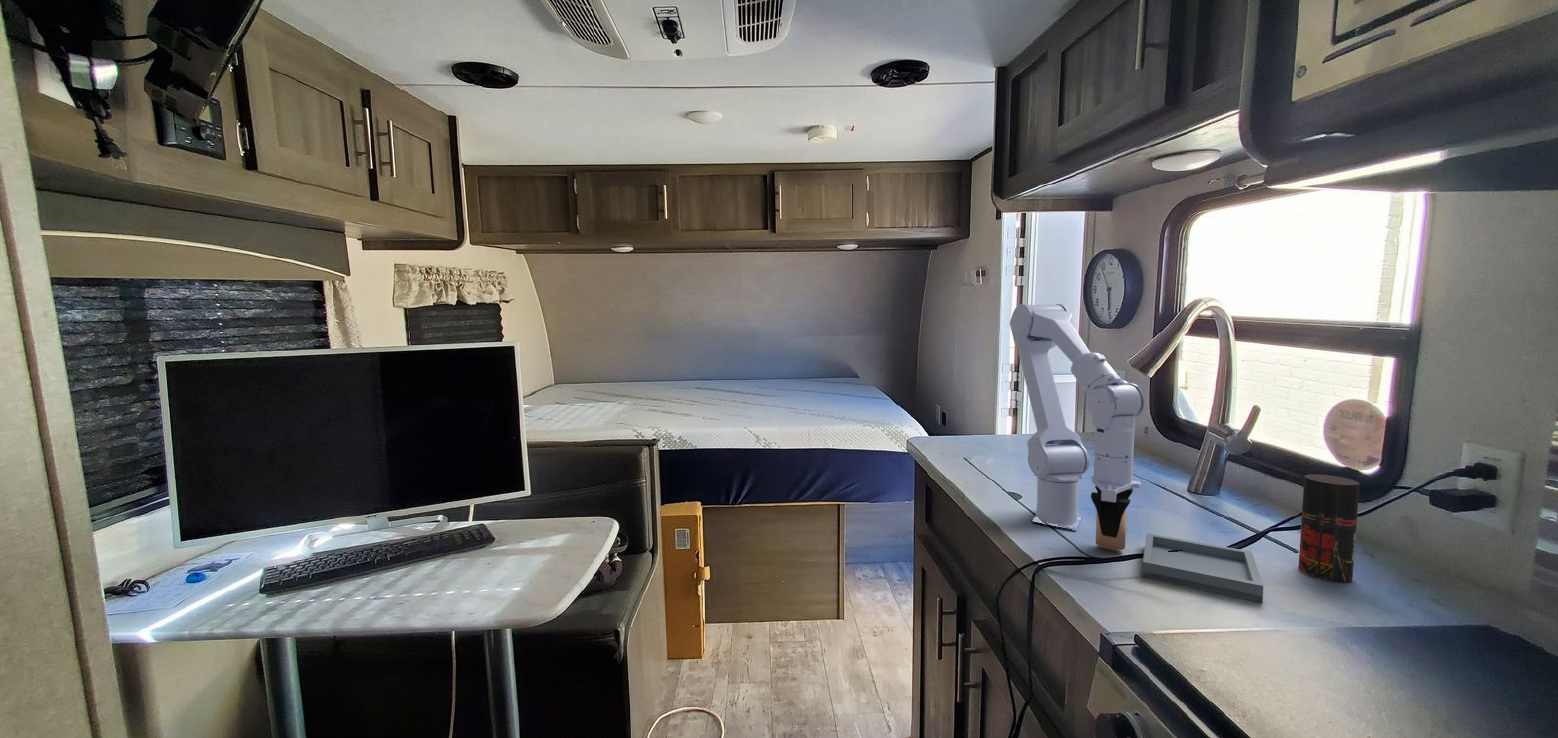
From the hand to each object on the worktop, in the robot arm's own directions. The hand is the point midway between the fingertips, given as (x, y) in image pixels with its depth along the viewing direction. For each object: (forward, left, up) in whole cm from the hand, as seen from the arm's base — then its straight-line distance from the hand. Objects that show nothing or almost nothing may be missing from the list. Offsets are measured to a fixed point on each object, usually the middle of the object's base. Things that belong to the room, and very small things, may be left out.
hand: (1110, 531), depth 94 cm
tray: (+2, +12, -3) cm, 13 cm away
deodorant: (-8, +28, -4) cm, 29 cm away
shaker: (0, 0, -2) cm, 2 cm away
